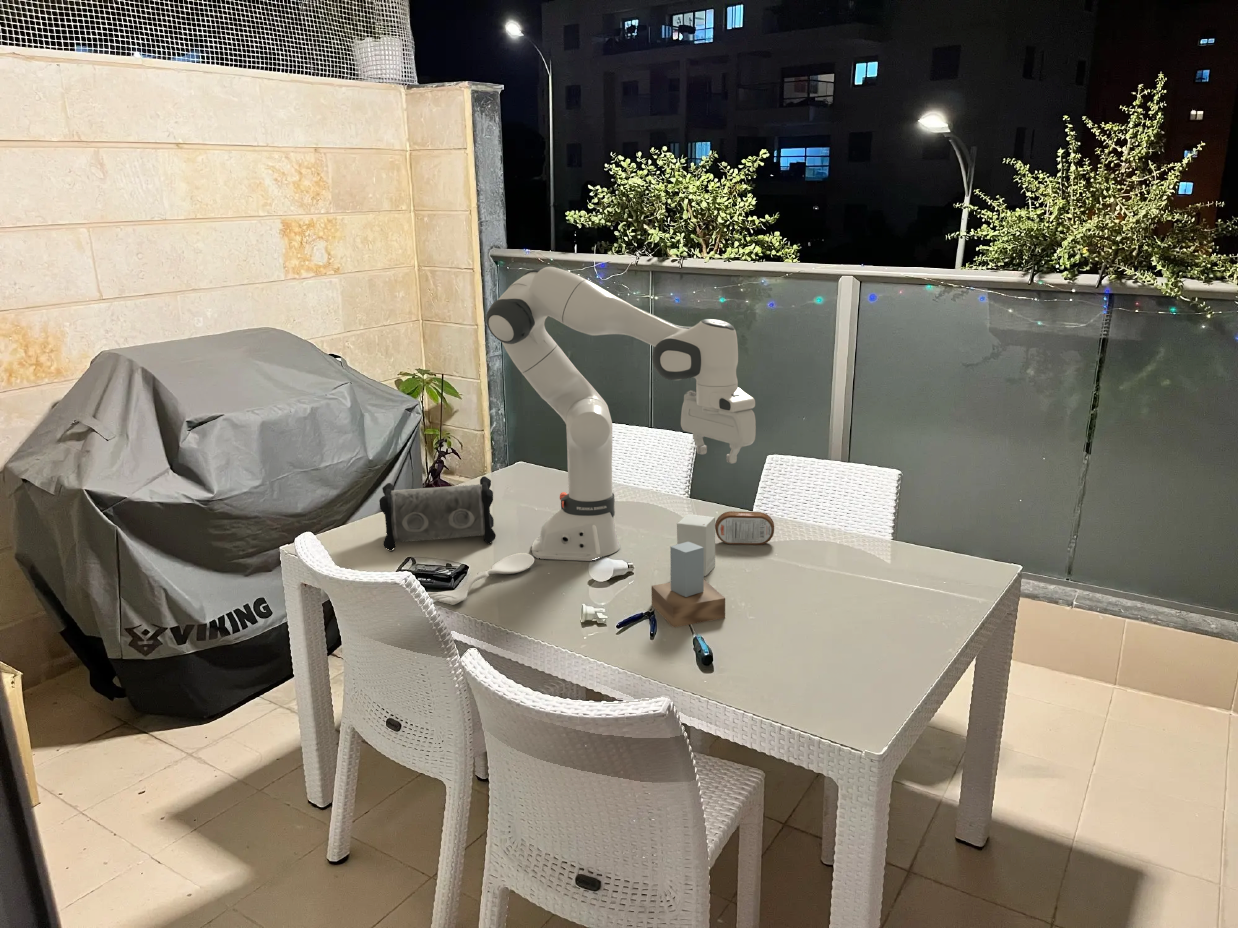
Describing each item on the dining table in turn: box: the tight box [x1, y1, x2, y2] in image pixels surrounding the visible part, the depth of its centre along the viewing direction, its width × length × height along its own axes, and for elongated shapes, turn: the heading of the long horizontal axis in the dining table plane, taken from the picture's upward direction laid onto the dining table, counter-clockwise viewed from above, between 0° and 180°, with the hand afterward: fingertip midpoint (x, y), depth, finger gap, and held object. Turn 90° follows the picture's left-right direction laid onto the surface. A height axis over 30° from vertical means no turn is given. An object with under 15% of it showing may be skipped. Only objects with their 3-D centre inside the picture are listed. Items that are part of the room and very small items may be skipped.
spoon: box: [427, 552, 535, 606], centre depth 222 cm, size 9×32×4 cm, turn 147°
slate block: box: [669, 542, 705, 597], centre depth 204 cm, size 5×5×10 cm
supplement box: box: [676, 513, 716, 577], centre depth 227 cm, size 7×7×13 cm
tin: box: [715, 510, 775, 546], centre depth 243 cm, size 15×3×8 cm, turn 84°
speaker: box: [378, 476, 497, 551], centre depth 249 cm, size 15×28×15 cm, turn 100°
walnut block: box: [651, 579, 726, 628], centre depth 206 cm, size 12×12×5 cm
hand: (716, 457), depth 208 cm, fingers open, 8 cm apart
